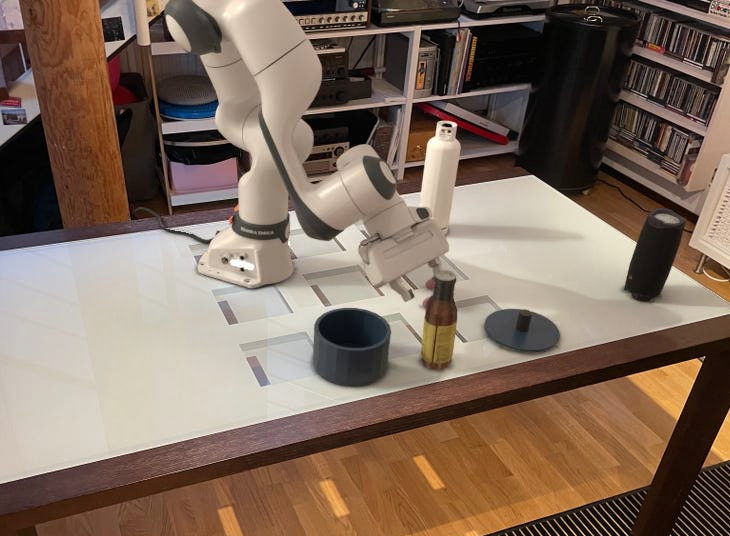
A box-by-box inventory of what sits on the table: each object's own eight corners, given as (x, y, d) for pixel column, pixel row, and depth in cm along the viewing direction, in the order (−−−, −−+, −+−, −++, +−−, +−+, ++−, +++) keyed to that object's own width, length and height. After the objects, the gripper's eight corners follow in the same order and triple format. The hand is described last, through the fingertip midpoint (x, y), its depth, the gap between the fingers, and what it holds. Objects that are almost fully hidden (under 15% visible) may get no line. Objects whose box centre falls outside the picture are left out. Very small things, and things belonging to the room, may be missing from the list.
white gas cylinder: (448, 225, 202) (465, 120, 185) (446, 238, 195) (463, 131, 179) (418, 221, 203) (431, 116, 186) (414, 234, 197) (428, 127, 180)
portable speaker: (625, 301, 173) (651, 223, 161) (618, 281, 180) (642, 204, 169) (664, 305, 172) (693, 227, 160) (656, 285, 179) (683, 208, 168)
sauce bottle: (454, 357, 153) (470, 271, 142) (445, 374, 149) (461, 287, 137) (423, 349, 155) (436, 263, 144) (413, 365, 151) (426, 278, 139)
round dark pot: (304, 378, 147) (305, 342, 142) (323, 337, 158) (325, 302, 153) (378, 393, 144) (382, 356, 139) (392, 350, 155) (397, 315, 150)
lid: (480, 346, 157) (484, 325, 154) (487, 308, 169) (491, 287, 166) (558, 360, 154) (564, 339, 151) (559, 320, 166) (564, 300, 163)
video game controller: (437, 316, 168) (456, 294, 164) (420, 306, 168) (438, 283, 164) (440, 294, 176) (457, 272, 172) (423, 284, 175) (441, 261, 171)
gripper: (364, 237, 136) (401, 305, 136) (434, 205, 148) (468, 268, 148) (344, 250, 141) (380, 316, 142) (414, 218, 153) (446, 279, 153)
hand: (425, 291), depth 145 cm, fingers open, 8 cm apart
